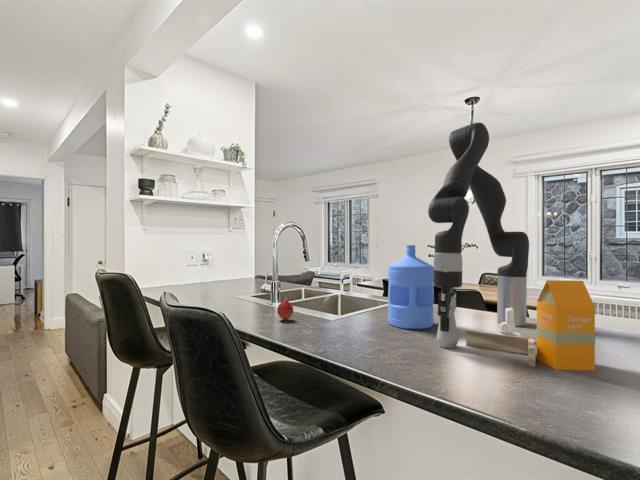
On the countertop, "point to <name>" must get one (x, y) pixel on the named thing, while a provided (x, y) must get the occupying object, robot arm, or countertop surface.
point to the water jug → (410, 292)
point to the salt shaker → (451, 336)
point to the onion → (285, 309)
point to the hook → (509, 324)
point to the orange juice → (566, 326)
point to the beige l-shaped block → (502, 343)
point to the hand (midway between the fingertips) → (447, 328)
